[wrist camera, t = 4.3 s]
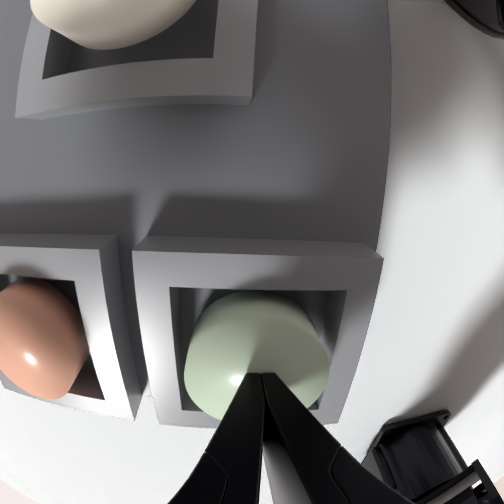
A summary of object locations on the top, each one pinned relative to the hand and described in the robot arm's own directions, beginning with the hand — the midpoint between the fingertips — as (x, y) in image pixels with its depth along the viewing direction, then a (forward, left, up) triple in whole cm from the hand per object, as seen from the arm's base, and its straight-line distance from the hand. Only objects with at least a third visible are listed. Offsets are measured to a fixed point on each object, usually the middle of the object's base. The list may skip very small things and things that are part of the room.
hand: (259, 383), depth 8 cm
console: (+4, -6, -5) cm, 9 cm away
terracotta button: (+8, 0, -2) cm, 8 cm away
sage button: (0, 0, -2) cm, 2 cm away
